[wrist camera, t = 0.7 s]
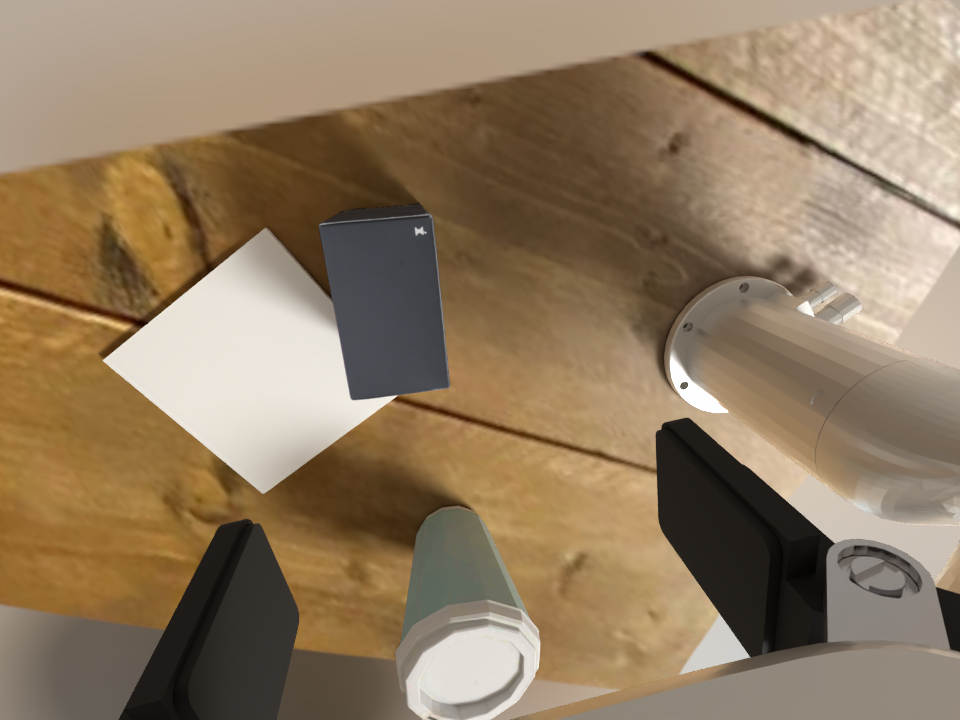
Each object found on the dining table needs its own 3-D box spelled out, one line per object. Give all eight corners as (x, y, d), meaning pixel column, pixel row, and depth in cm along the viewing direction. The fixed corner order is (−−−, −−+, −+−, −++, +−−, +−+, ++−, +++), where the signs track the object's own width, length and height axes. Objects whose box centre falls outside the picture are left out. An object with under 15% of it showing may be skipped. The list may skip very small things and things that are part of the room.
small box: (332, 210, 35) (310, 219, 25) (423, 202, 36) (436, 208, 26) (356, 349, 38) (346, 405, 29) (438, 339, 39) (455, 389, 30)
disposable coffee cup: (451, 466, 44) (471, 602, 30) (530, 525, 48) (580, 669, 34) (374, 540, 46) (360, 700, 32) (456, 591, 50) (475, 753, 36)
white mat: (267, 227, 35) (265, 227, 34) (408, 384, 41) (408, 387, 40) (106, 358, 36) (102, 360, 36) (264, 490, 42) (263, 494, 42)
